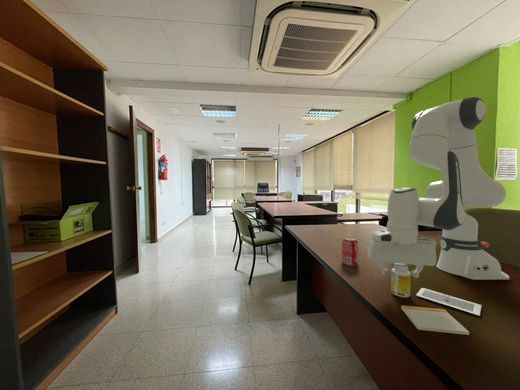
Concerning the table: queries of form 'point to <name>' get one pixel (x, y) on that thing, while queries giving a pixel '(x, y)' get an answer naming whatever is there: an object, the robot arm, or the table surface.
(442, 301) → the touchpad
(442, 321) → the notepad
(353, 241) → the soda can
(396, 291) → the supplement bottle
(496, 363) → the table surface
